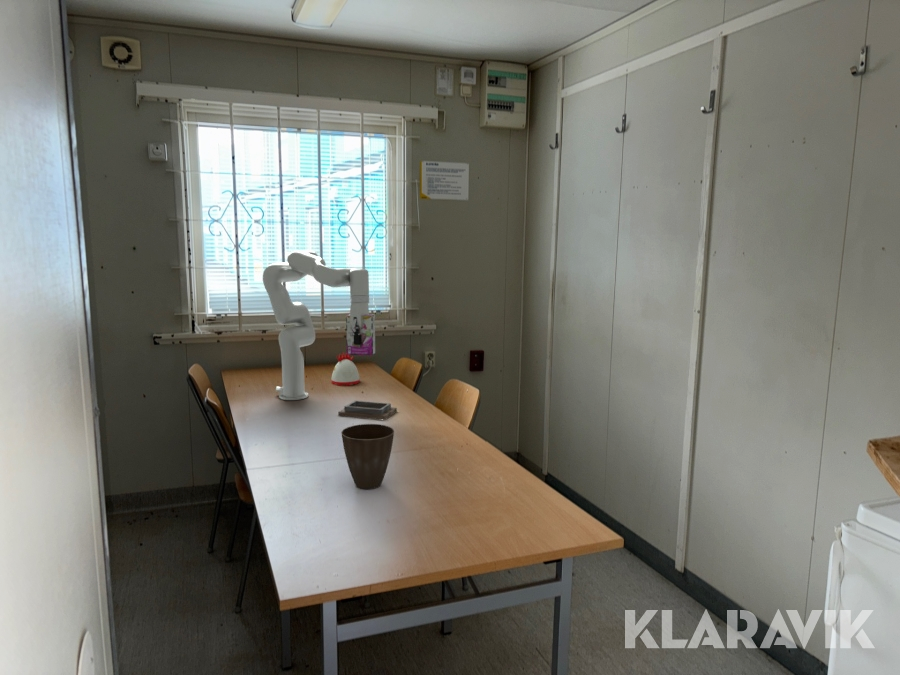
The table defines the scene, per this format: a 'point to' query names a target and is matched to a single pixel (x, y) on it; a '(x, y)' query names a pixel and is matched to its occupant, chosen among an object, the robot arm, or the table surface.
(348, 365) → the kitchen timer
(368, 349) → the candy bar box
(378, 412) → the stand
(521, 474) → the table surface
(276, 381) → the table surface
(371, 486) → the plant pot
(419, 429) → the table surface
